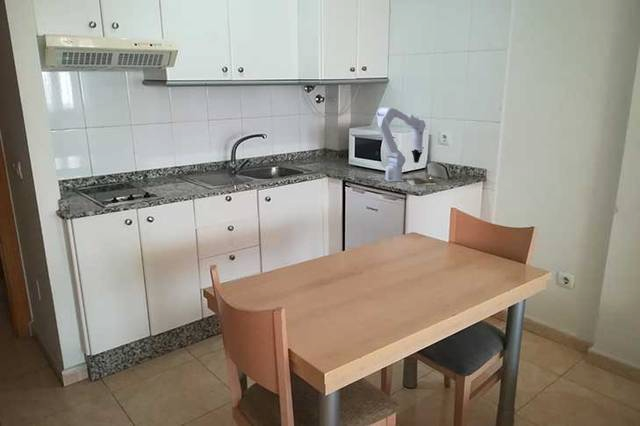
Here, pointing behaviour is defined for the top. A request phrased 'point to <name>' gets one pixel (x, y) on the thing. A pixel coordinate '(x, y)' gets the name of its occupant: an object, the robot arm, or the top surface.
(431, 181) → the link
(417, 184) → the base board
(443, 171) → the grey piece
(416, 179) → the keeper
